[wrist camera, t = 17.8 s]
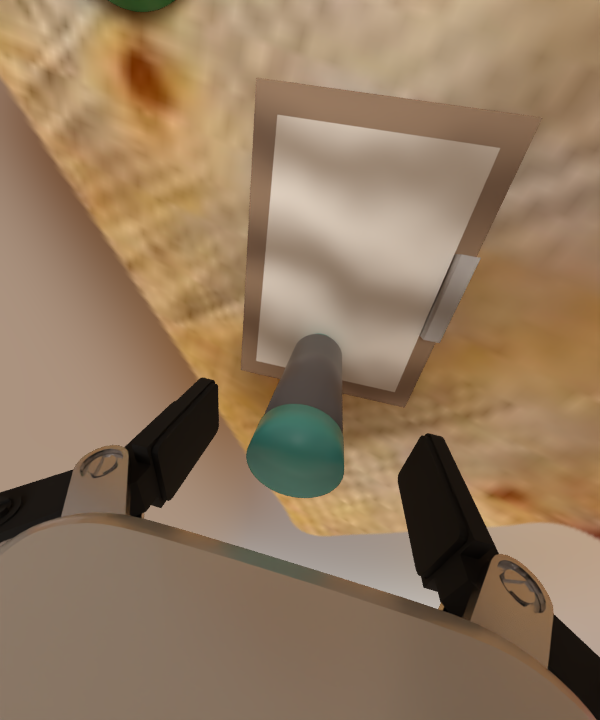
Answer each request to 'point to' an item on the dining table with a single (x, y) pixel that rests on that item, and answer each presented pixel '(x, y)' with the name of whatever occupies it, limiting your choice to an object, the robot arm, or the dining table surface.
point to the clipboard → (368, 225)
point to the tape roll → (141, 4)
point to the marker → (303, 424)
